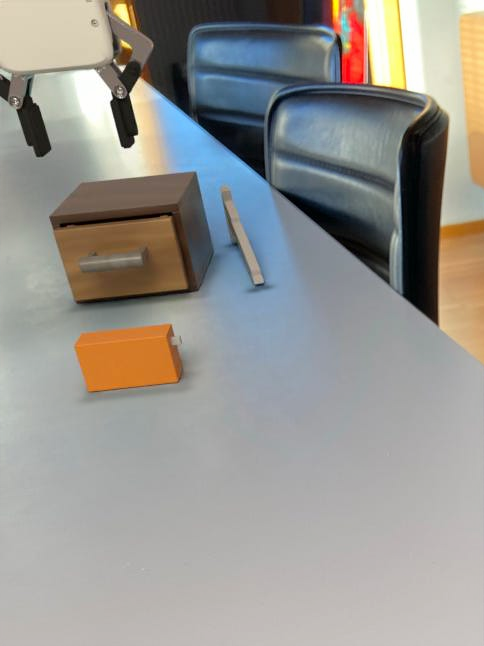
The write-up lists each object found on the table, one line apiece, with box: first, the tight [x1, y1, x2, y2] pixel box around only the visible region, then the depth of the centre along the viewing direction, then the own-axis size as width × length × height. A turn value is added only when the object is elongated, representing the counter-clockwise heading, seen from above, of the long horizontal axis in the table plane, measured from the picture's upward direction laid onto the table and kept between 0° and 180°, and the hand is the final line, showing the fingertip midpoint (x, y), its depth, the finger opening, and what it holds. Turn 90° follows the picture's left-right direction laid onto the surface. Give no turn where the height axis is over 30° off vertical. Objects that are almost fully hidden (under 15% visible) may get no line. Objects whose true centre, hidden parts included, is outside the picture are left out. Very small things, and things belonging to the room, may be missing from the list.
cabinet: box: [48, 170, 215, 304], centre depth 108 cm, size 15×13×9 cm
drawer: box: [52, 212, 189, 302], centre depth 104 cm, size 18×11×7 cm, turn 6°
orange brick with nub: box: [73, 323, 184, 393], centre depth 85 cm, size 8×3×4 cm, turn 96°
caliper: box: [219, 184, 265, 285], centre depth 111 cm, size 20×1×6 cm, turn 19°
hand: (86, 148), depth 93 cm, fingers open, 7 cm apart
